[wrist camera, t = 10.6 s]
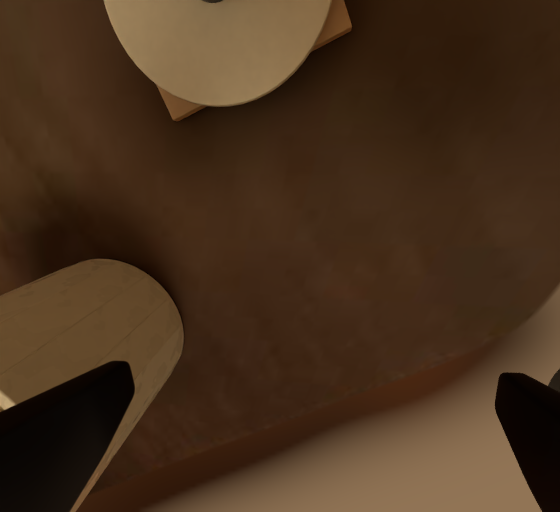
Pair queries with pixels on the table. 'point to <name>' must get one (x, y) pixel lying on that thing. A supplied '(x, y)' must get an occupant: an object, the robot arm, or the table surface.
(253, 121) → the table surface
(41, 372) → the pot
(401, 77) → the table surface
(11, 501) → the robot arm
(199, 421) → the table surface
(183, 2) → the lid
